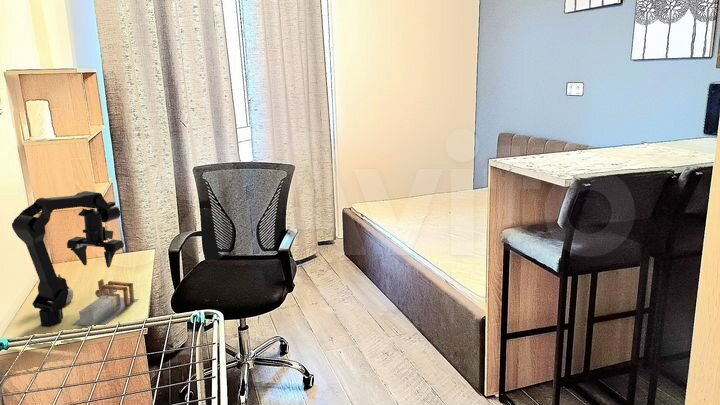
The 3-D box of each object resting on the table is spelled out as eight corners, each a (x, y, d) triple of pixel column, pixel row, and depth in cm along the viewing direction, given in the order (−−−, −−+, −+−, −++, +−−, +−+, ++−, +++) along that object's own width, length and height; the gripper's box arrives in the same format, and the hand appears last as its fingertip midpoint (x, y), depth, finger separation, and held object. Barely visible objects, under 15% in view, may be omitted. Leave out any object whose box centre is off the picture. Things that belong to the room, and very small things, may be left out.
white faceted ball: (70, 307, 184) (66, 277, 181) (40, 309, 182) (36, 278, 179) (77, 298, 191) (73, 269, 188) (49, 299, 190) (45, 270, 186)
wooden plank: (102, 304, 188) (100, 281, 185) (100, 303, 188) (97, 281, 186) (106, 301, 190) (104, 279, 187) (103, 301, 190) (101, 279, 187)
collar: (127, 306, 185) (125, 288, 183) (103, 304, 186) (102, 285, 184) (128, 305, 186) (127, 287, 184) (105, 302, 187) (103, 284, 185)
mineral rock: (95, 284, 199) (116, 277, 201) (99, 293, 201) (120, 287, 202) (89, 297, 189) (111, 290, 191) (93, 306, 191) (115, 299, 192)
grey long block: (94, 326, 170) (93, 312, 169) (80, 325, 171) (78, 310, 169) (121, 306, 185) (120, 293, 183) (107, 305, 185) (106, 292, 184)
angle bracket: (132, 302, 188) (131, 284, 186) (109, 299, 189) (108, 282, 188) (134, 301, 189) (132, 283, 187) (111, 298, 190) (109, 280, 189)
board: (101, 330, 170) (101, 328, 169) (71, 327, 171) (71, 325, 171) (139, 301, 191) (139, 299, 191) (112, 298, 192) (112, 296, 192)
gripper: (130, 221, 191) (132, 260, 195) (83, 218, 193) (87, 256, 197) (112, 229, 180) (115, 271, 184) (63, 226, 182) (67, 267, 186)
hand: (97, 266), depth 188 cm, fingers open, 9 cm apart
